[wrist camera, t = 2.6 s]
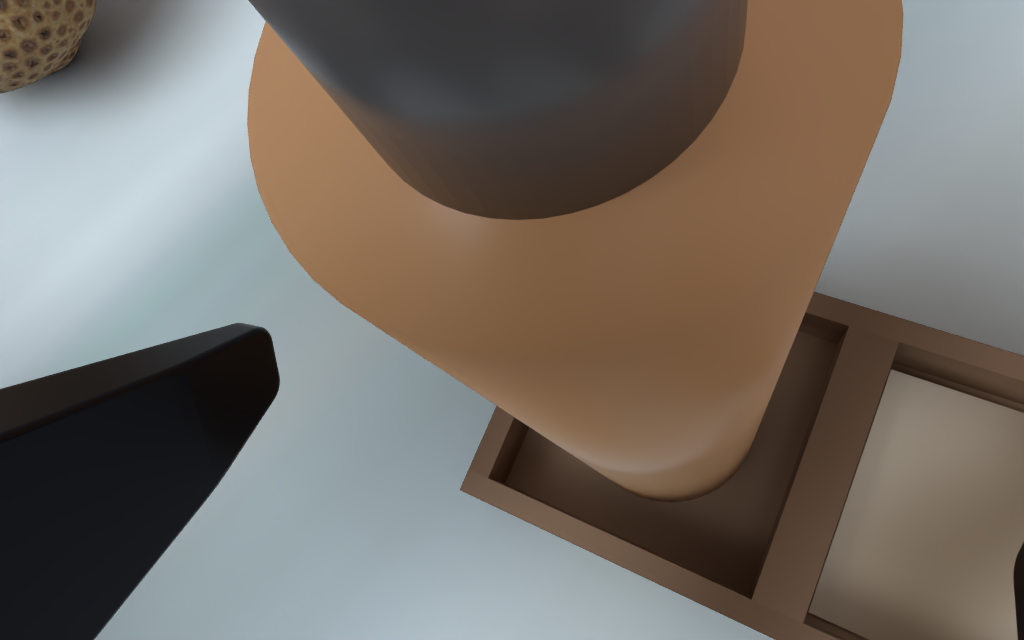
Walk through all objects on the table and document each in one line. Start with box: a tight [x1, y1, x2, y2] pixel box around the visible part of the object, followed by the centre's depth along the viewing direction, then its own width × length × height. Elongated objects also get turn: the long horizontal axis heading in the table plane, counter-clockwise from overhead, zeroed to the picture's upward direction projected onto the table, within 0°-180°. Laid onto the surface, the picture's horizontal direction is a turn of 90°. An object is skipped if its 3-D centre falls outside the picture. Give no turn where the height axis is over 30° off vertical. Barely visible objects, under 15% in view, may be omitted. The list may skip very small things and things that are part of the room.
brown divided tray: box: [460, 292, 1024, 640], centre depth 16 cm, size 14×7×2 cm, turn 66°
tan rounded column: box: [247, 0, 903, 502], centre depth 10 cm, size 4×4×16 cm
